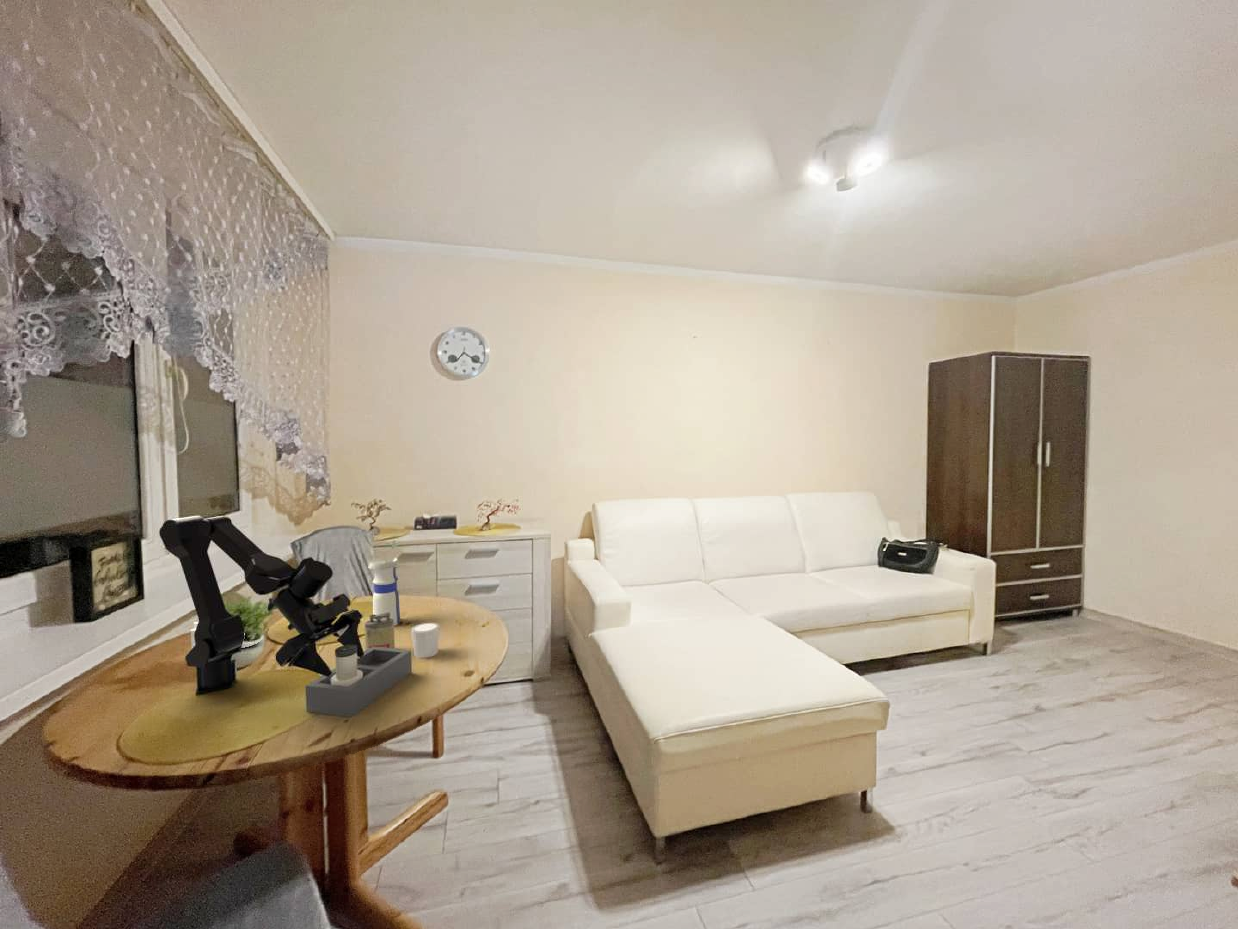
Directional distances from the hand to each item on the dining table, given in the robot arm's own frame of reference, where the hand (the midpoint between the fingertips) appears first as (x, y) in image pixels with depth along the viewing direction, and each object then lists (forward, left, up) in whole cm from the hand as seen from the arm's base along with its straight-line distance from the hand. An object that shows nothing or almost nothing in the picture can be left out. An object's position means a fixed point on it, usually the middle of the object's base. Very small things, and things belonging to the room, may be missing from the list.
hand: (347, 665), depth 107 cm
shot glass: (+19, +16, -8) cm, 26 cm away
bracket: (-26, +49, -8) cm, 56 cm away
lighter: (+9, +24, -8) cm, 27 cm away
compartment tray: (+3, +3, -8) cm, 9 cm away
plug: (0, 0, -5) cm, 5 cm away
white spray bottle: (+13, +45, -8) cm, 48 cm away
